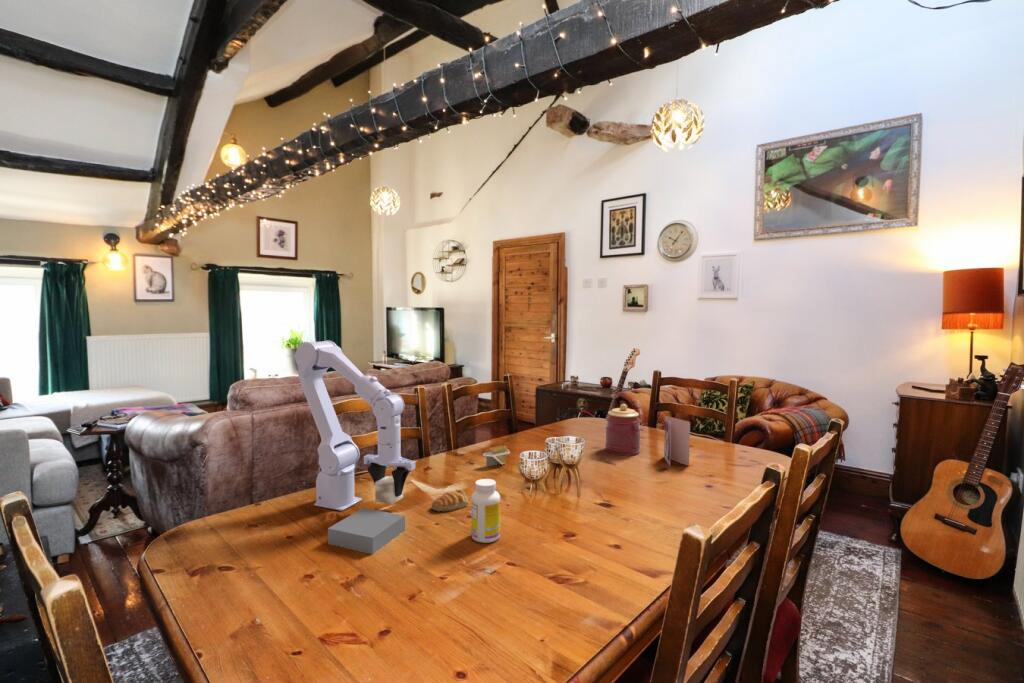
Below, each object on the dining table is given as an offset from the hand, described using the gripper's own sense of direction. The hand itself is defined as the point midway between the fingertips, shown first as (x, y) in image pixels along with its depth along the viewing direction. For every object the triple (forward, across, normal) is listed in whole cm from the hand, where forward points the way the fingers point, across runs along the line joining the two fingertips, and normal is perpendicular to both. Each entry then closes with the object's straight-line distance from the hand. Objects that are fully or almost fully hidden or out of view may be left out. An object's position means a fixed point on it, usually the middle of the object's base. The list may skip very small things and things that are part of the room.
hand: (389, 493), depth 124 cm
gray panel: (+5, -4, +14) cm, 15 cm away
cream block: (+2, 0, 0) cm, 2 cm away
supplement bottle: (+4, -29, +4) cm, 30 cm away
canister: (+4, -48, -78) cm, 92 cm away
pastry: (+5, -13, -9) cm, 17 cm away
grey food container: (+5, -12, -44) cm, 46 cm away
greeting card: (+4, -67, -71) cm, 98 cm away
